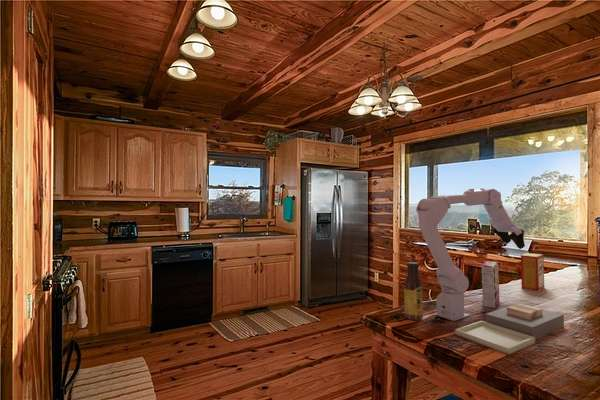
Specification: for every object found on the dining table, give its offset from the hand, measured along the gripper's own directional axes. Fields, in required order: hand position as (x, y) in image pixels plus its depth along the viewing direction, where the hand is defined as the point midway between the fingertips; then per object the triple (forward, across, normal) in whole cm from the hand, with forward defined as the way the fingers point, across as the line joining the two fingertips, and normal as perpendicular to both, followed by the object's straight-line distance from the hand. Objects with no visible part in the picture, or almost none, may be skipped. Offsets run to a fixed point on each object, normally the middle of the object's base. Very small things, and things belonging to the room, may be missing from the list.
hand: (515, 244), depth 127 cm
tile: (+9, -22, +19) cm, 30 cm away
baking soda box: (+38, +22, -8) cm, 44 cm away
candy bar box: (+17, +1, +20) cm, 26 cm away
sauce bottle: (-4, -11, +50) cm, 51 cm away
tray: (+3, -30, +34) cm, 45 cm away
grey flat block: (+12, -22, +21) cm, 33 cm away
